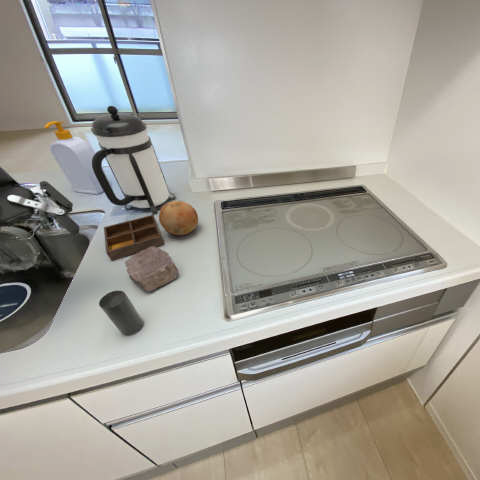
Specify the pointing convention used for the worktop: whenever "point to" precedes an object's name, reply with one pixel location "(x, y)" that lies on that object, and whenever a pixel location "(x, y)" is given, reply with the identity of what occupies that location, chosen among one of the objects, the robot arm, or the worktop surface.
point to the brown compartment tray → (132, 237)
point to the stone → (151, 268)
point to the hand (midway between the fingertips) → (50, 247)
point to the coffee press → (128, 161)
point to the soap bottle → (75, 160)
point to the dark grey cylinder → (121, 312)
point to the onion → (178, 217)
